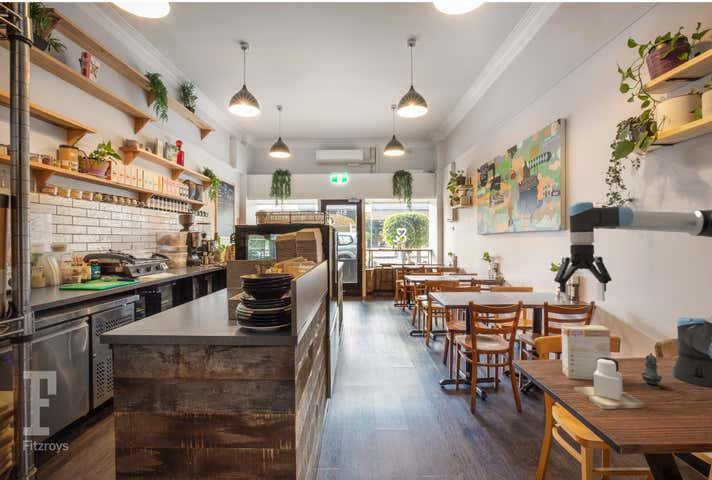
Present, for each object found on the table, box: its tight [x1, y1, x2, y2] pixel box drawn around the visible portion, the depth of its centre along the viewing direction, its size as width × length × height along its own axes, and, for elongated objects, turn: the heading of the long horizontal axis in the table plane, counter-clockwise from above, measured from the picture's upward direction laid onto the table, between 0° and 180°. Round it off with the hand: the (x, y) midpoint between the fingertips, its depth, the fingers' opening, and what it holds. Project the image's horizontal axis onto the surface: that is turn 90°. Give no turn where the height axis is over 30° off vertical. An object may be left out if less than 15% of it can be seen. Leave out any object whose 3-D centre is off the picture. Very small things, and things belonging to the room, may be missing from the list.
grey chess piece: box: [641, 352, 663, 390], centre depth 130 cm, size 6×6×12 cm
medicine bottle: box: [592, 357, 623, 401], centre depth 121 cm, size 7×7×12 cm
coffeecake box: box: [561, 324, 611, 381], centre depth 140 cm, size 15×7×20 cm, turn 78°
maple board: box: [573, 386, 647, 410], centre depth 121 cm, size 14×14×1 cm
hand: (583, 300), depth 134 cm, fingers open, 13 cm apart
